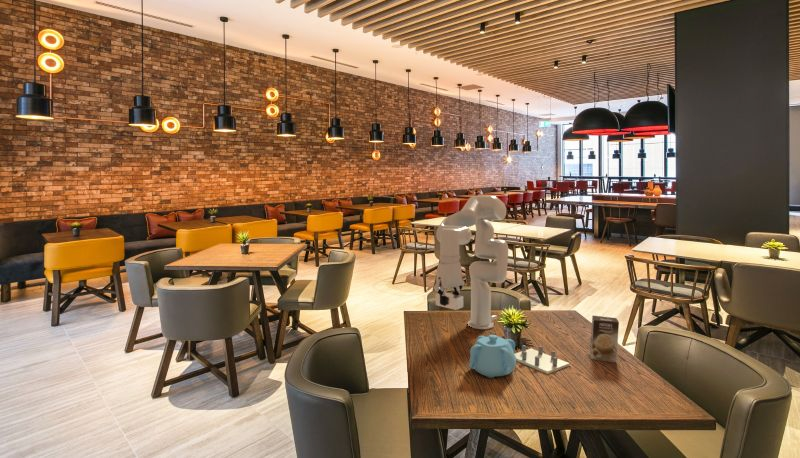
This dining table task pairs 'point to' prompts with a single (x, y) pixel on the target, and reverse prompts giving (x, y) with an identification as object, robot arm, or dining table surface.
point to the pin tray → (540, 360)
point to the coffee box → (604, 338)
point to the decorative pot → (493, 356)
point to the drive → (451, 301)
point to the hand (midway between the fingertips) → (449, 303)
